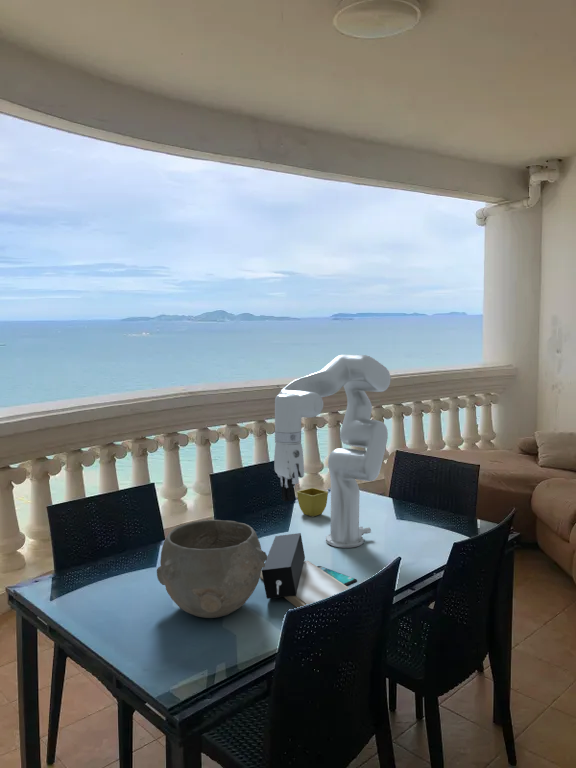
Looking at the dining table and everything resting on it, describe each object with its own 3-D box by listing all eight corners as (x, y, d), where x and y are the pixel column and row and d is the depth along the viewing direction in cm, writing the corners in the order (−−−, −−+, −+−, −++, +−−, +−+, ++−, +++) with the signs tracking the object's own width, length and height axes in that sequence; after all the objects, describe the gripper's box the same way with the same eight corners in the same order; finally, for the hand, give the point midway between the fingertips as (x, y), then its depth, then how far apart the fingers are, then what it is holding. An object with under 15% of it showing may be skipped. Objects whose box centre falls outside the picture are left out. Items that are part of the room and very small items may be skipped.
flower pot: (296, 514, 236) (296, 491, 235) (312, 509, 242) (312, 487, 241) (312, 519, 230) (312, 496, 229) (328, 514, 236) (328, 491, 235)
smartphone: (319, 565, 185) (358, 579, 174) (319, 567, 185) (358, 582, 174) (302, 571, 180) (342, 586, 169) (302, 574, 180) (342, 589, 169)
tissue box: (279, 560, 185) (264, 604, 157) (275, 535, 184) (259, 575, 156) (305, 557, 184) (294, 601, 156) (300, 532, 183) (289, 572, 155)
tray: (307, 567, 184) (307, 559, 184) (362, 604, 160) (362, 595, 159) (259, 577, 176) (259, 569, 176) (309, 617, 152) (309, 608, 152)
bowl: (254, 641, 141) (253, 556, 139) (138, 628, 146) (136, 546, 145) (279, 591, 167) (279, 519, 165) (180, 582, 173) (179, 512, 171)
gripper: (312, 440, 170) (312, 505, 172) (287, 432, 183) (286, 492, 185) (289, 442, 166) (288, 508, 168) (264, 434, 180) (264, 495, 181)
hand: (287, 500), depth 176 cm, fingers closed
